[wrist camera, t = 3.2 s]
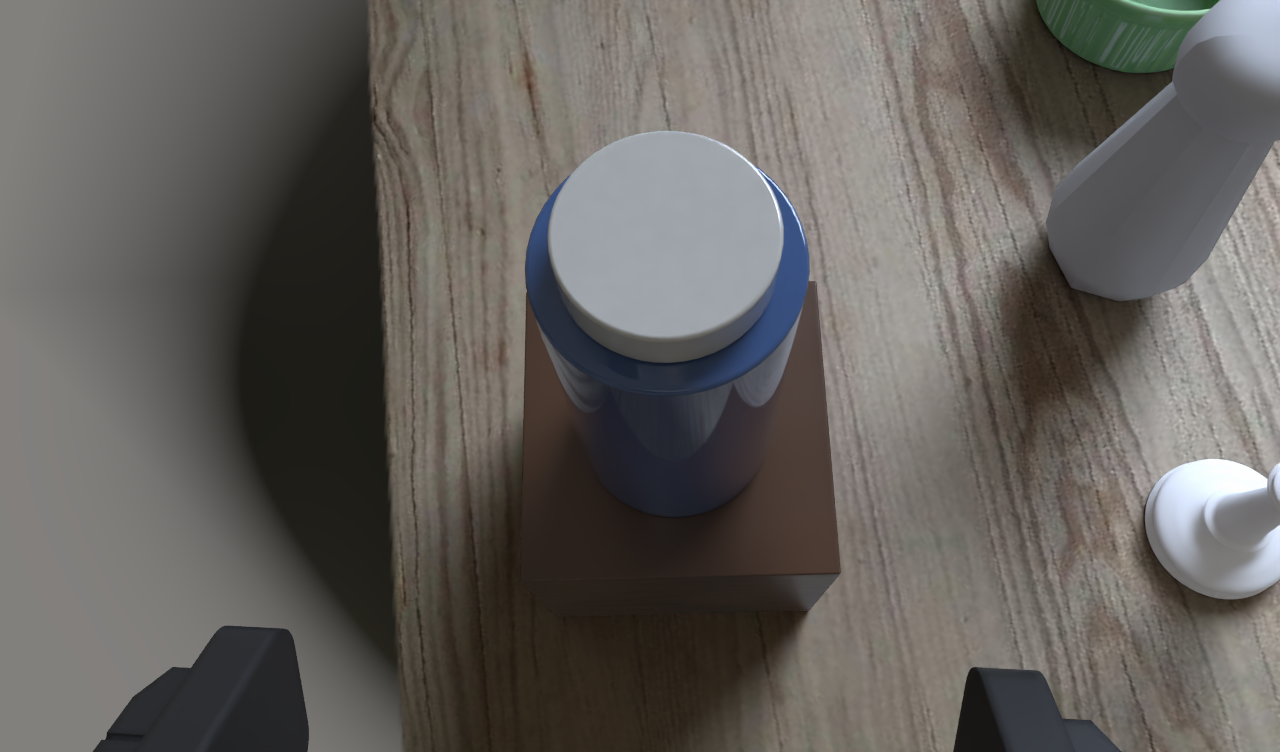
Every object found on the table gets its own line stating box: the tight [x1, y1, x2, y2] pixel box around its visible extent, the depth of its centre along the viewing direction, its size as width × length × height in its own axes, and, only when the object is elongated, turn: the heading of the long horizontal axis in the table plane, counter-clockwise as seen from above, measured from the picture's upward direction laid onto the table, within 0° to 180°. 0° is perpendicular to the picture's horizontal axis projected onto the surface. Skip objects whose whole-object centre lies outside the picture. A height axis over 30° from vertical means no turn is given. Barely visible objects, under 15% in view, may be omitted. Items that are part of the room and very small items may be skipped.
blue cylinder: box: [525, 131, 810, 517], centre depth 25 cm, size 6×6×12 cm
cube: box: [520, 281, 841, 617], centre depth 34 cm, size 9×9×8 cm
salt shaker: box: [1046, 0, 1280, 301], centre depth 34 cm, size 6×6×13 cm
